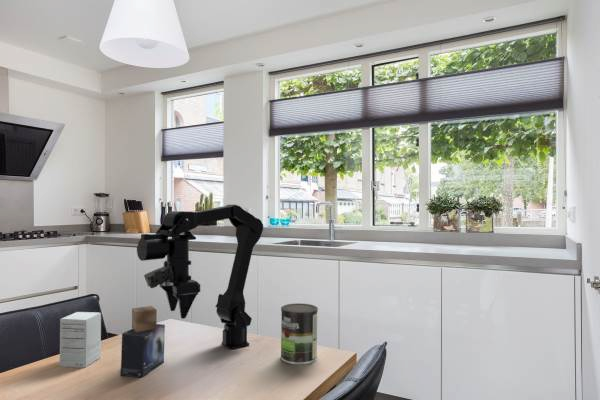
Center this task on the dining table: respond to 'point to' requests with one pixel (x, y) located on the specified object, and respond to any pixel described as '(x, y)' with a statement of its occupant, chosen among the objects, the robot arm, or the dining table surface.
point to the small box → (142, 351)
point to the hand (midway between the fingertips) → (177, 314)
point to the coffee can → (299, 334)
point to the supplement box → (80, 339)
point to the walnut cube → (144, 318)
